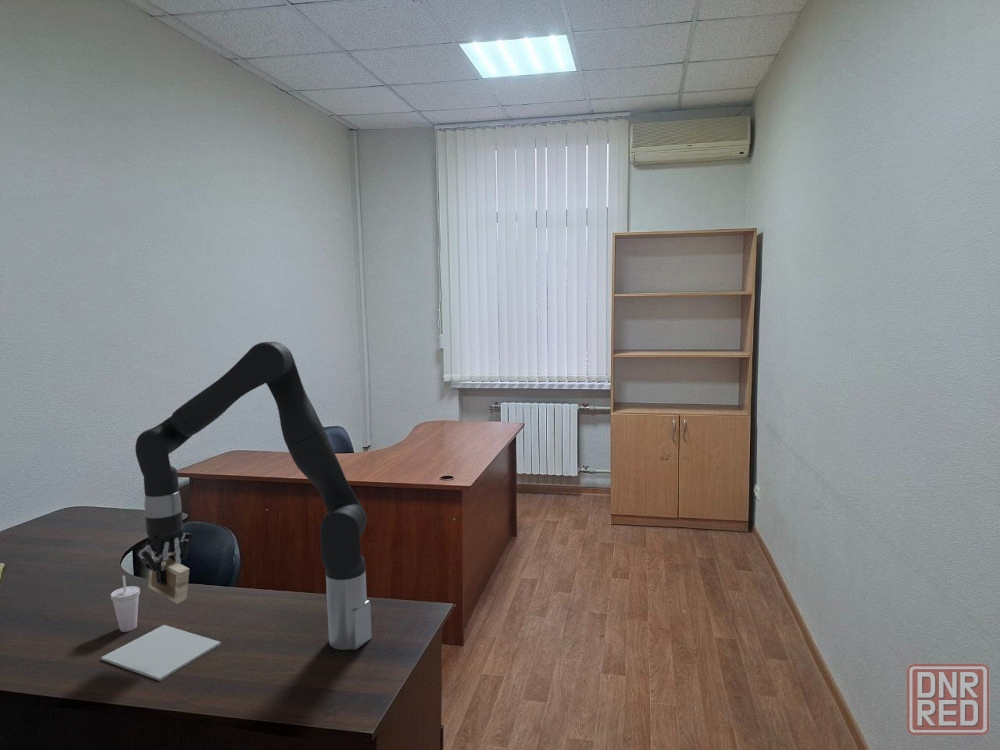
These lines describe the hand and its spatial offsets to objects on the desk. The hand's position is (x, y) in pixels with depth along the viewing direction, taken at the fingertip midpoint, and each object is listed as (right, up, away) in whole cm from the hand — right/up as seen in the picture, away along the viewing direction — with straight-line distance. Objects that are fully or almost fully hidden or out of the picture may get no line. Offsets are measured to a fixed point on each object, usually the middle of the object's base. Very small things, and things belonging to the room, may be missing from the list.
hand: (168, 581), depth 148 cm
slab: (-1, -3, +1) cm, 3 cm away
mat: (-1, -16, -1) cm, 16 cm away
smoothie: (-16, -15, +10) cm, 24 cm away
